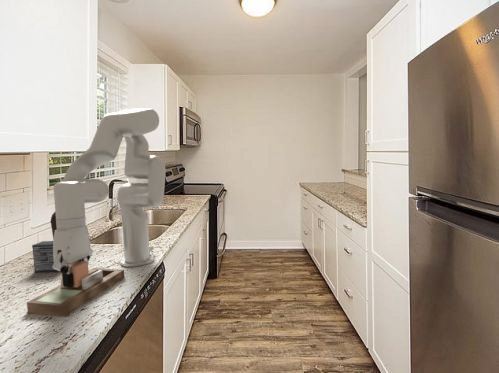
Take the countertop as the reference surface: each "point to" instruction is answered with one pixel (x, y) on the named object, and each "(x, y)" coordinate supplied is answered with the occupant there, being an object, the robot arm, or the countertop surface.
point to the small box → (43, 256)
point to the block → (79, 272)
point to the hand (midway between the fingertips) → (76, 281)
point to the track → (75, 293)
